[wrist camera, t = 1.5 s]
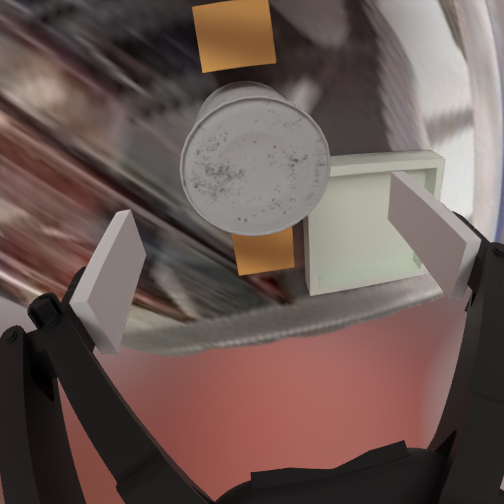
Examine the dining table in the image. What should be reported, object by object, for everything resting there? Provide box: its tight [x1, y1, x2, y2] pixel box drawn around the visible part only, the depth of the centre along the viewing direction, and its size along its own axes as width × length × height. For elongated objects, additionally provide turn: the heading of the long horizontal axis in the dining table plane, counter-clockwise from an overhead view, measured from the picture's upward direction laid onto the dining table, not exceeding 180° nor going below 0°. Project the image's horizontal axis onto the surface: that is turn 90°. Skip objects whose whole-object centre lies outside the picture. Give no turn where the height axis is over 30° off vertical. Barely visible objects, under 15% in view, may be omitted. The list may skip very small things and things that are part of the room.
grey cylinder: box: [180, 81, 331, 236], centre depth 25 cm, size 10×10×12 cm
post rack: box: [192, 0, 295, 275], centre depth 27 cm, size 23×5×8 cm, turn 7°
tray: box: [303, 150, 445, 296], centre depth 35 cm, size 16×16×3 cm
